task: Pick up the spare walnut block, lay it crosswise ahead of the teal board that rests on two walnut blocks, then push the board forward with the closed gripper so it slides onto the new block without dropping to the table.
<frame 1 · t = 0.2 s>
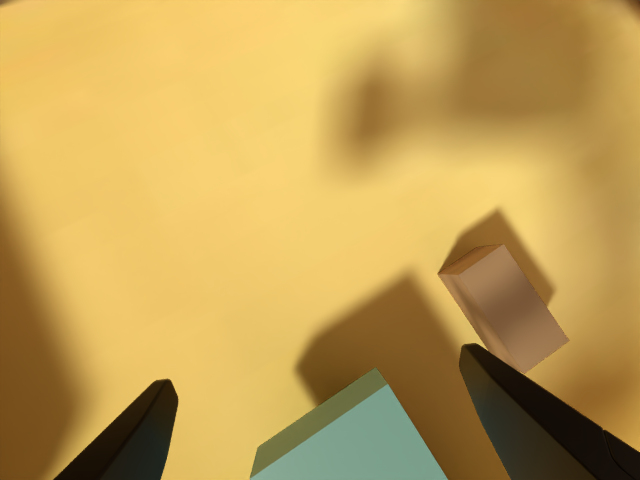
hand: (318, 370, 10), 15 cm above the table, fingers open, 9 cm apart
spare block: (483, 301, 26), on the table
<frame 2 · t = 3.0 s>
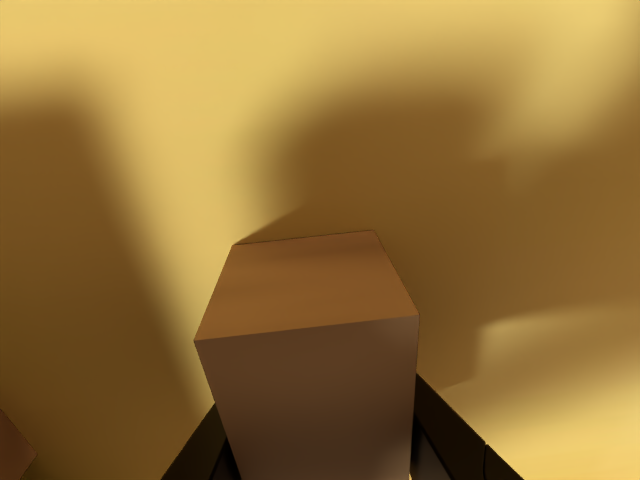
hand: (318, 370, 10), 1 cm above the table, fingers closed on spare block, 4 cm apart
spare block: (316, 344, 11), on the table, touching gripper
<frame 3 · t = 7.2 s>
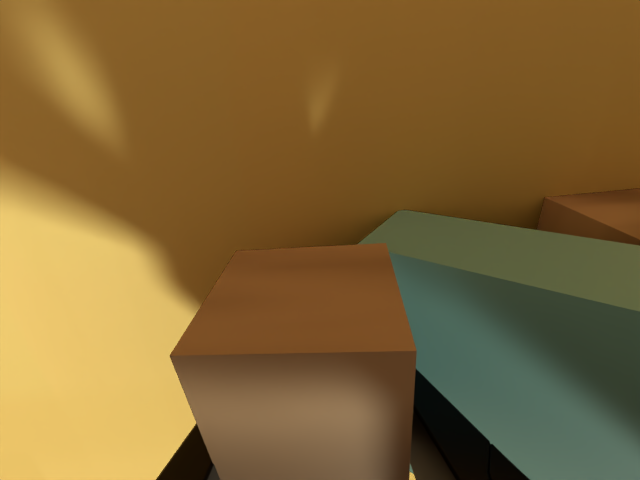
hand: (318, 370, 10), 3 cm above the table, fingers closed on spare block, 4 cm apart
block 2: (567, 285, 13), on the table
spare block: (322, 357, 10), point 3 cm above the table, tilted 7°, touching gripper
when the fingers open (2 cm above the table, at t = 7.8 s): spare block drops 2 cm, on the table.
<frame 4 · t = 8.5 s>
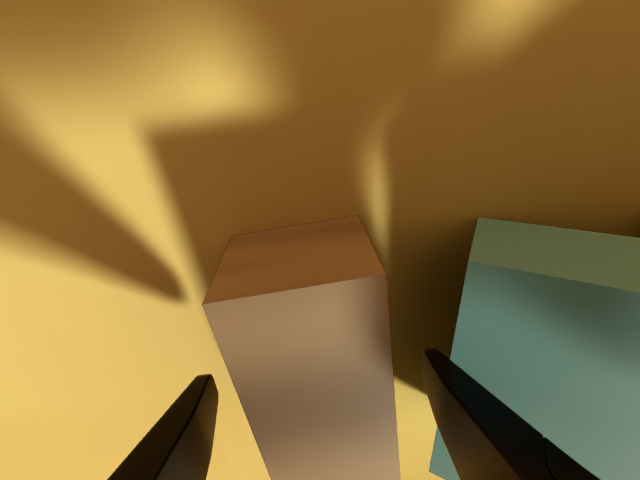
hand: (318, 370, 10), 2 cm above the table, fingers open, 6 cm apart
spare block: (314, 319, 12), on the table
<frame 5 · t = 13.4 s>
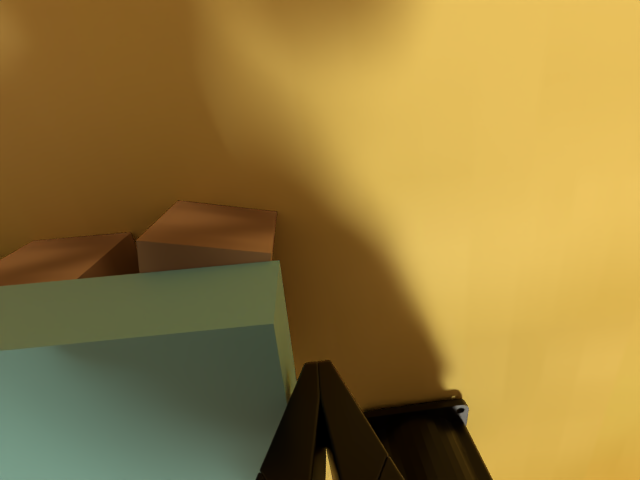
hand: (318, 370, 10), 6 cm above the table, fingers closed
block 2: (117, 310, 15), on the table, touching slab
block 1: (227, 284, 15), on the table
slab: (51, 388, 12), point 4 cm above the table, touching block 2, gripper
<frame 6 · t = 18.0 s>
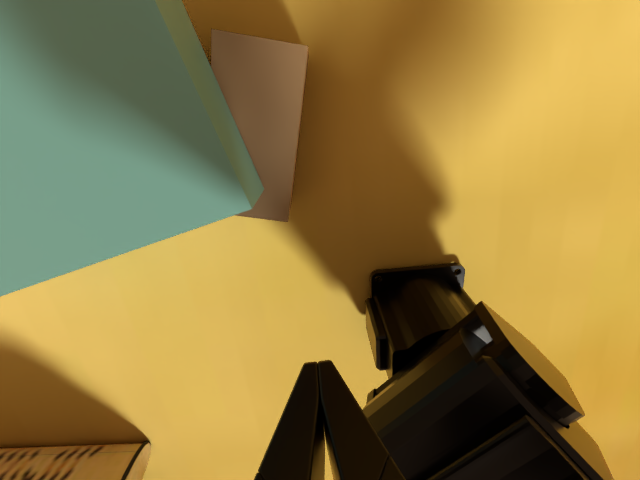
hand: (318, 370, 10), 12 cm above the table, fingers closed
block 1: (265, 129, 18), on the table
slab: (51, 163, 15), point 4 cm above the table, touching block 2
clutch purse: (23, 459, 30), on the table
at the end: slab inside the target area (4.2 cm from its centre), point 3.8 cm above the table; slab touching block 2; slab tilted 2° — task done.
